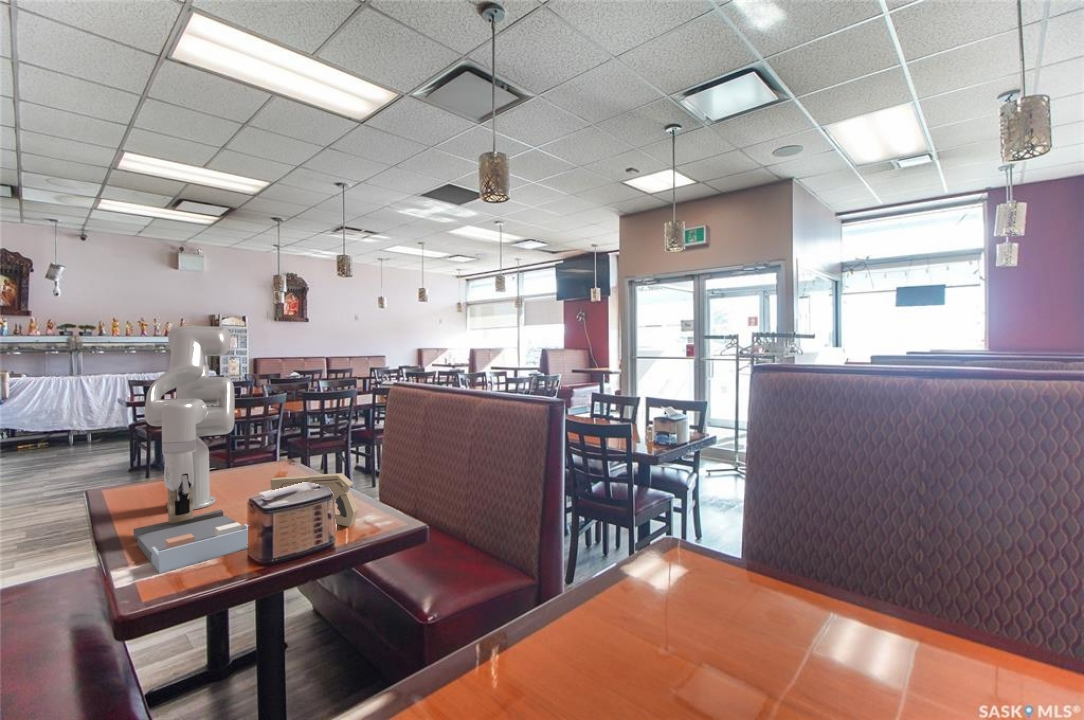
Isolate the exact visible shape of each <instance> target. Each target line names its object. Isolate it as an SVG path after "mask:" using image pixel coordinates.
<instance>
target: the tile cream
mask: <svg viewBox="0 0 1084 720" xmlns="http://www.w3.org/2000/svg"><path fill="white" fill-rule="evenodd" d="M235 522H236V521H235ZM241 526H242V524H240V522H238V521H237V522H236V523H232V524H228V525H224V526H219V527H215V537H217V536H220V535H224V534H228V533H232V532H236V531H240V530H242V529H241Z"/></svg>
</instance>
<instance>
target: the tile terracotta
mask: <svg viewBox="0 0 1084 720" xmlns="http://www.w3.org/2000/svg"><path fill="white" fill-rule="evenodd" d="M193 542H194V536H193V535H192V534H187V535H182V536H178V537H174V538H170V539H166V549H170V548H174V547H177V546H181V545H185V544H189V543H193Z"/></svg>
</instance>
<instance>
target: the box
mask: <svg viewBox="0 0 1084 720" xmlns="http://www.w3.org/2000/svg"><path fill="white" fill-rule="evenodd" d="M248 526H249V525H248V524H247V523H244V524H243V527H244V530H240V531H236V532H232V533H228V534H224V535H220V536H217V537H213V538H209V539H205V540H201V541H197V542H193V543H189V544H185V545H181V546H177V547H174V548H170V549H166V550H162V551H158V550H157V549H156V547H152V555H151V562H150V563H151V565H152V566H153V568H154V569H155V570H156V572H157V573H158V574H164V573H167V572H171V571H174V570H177V569H181V568H185V567H189V566H193V565H197V564H199V563H203V562H205V561H209V560H214V559H217V558H221V557H223V556H227V555H231V554H234V553H237V552H241V551H244V550H248V545H247V544H248Z"/></svg>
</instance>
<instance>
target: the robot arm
mask: <svg viewBox="0 0 1084 720" xmlns="http://www.w3.org/2000/svg"><path fill="white" fill-rule="evenodd" d="M231 338H232V336H231V332H230V331H229V329H228V328H227V327H225V326H209V325H208V326H207V325H206V326H202V325H183V326H176V327H173V328H171V329H170V330H169V332H168V335H167V340H168V346H169V349H170V359H169V361H170V362H169V369H168V370H167V371H165V372H164V373H163V374H160V375H159V376H158V377H157V378H156V379H155V380H154V381H153V382H152V383H151V385H150V387H149V389H147V393H146V399H145V404H144V420H145V421H146V423H147V425H150V426H152V427H161V444H162V445H161V447H162V448H161V451H162V453H161V454H162V455H165V456H164V467H163V468H164V471H163V472H164V473H163V474H164V475H163V485H164V486H165V487H166V489H167V490H168V489H170V490H171V491H175V490H176V501H175V515H176V516H178V515H182V514H187V513H189V512H190V499H189V488H192V490H193V511H194V510H198V509H203V508H205V507H208V506H211V505H213V504H214V503H216V497H215V496H214V495H211V494H210V493H211V492H210V450H209V447H208V445H207V443H205V442H204V441H203V439H201V437H206V436H208V437H209V436H218V435H219V436H220V435H228V434H230V433H231V432H232V431H233V430H234V427H235V405H236V404H235V402H236V401H235V385H234V383H233V381H232V379H231V378H229V377H226V376H209V373H210V367H209V365H208V363H207V362H206V361H205V357H223V356H225V355H226V354H227V352H228V351H229V349H230V346H231V343H232V342H231V341H232V339H231ZM174 389H176V392H175V393H176V395H175V396H176V397H175V398H173V399H170V398H169V399H161V398H162V397H163V396H164V395H165V394H166V393H168V392H169V391H172V390H174ZM179 487H182V489H179ZM181 491H182V492H181ZM179 492H180V494H179ZM166 508H167V510H168V504H167V505H166Z"/></svg>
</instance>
